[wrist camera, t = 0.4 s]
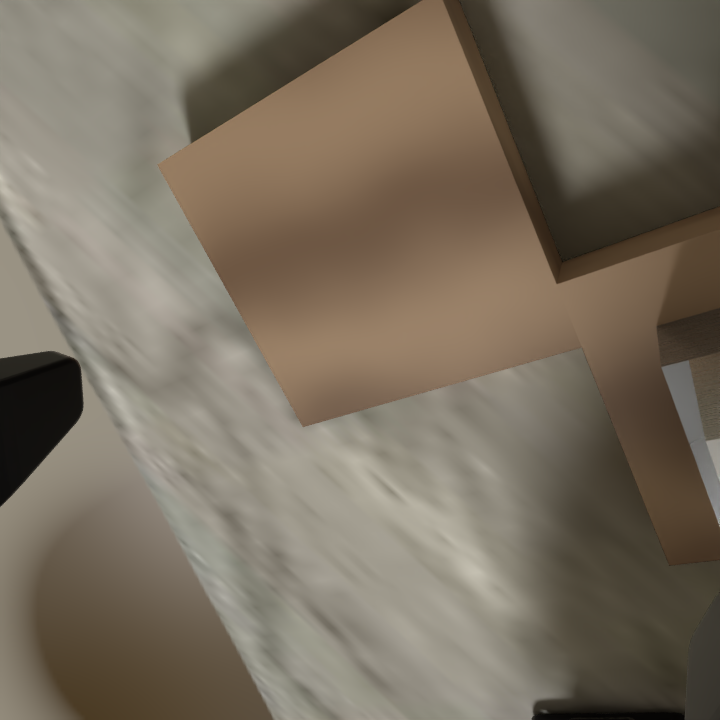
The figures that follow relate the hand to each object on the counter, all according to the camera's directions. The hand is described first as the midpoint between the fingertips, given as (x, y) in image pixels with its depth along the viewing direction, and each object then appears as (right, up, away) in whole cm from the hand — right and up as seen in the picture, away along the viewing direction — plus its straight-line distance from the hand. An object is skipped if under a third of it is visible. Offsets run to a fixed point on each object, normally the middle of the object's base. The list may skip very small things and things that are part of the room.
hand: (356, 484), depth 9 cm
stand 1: (+1, +6, +12) cm, 14 cm away
